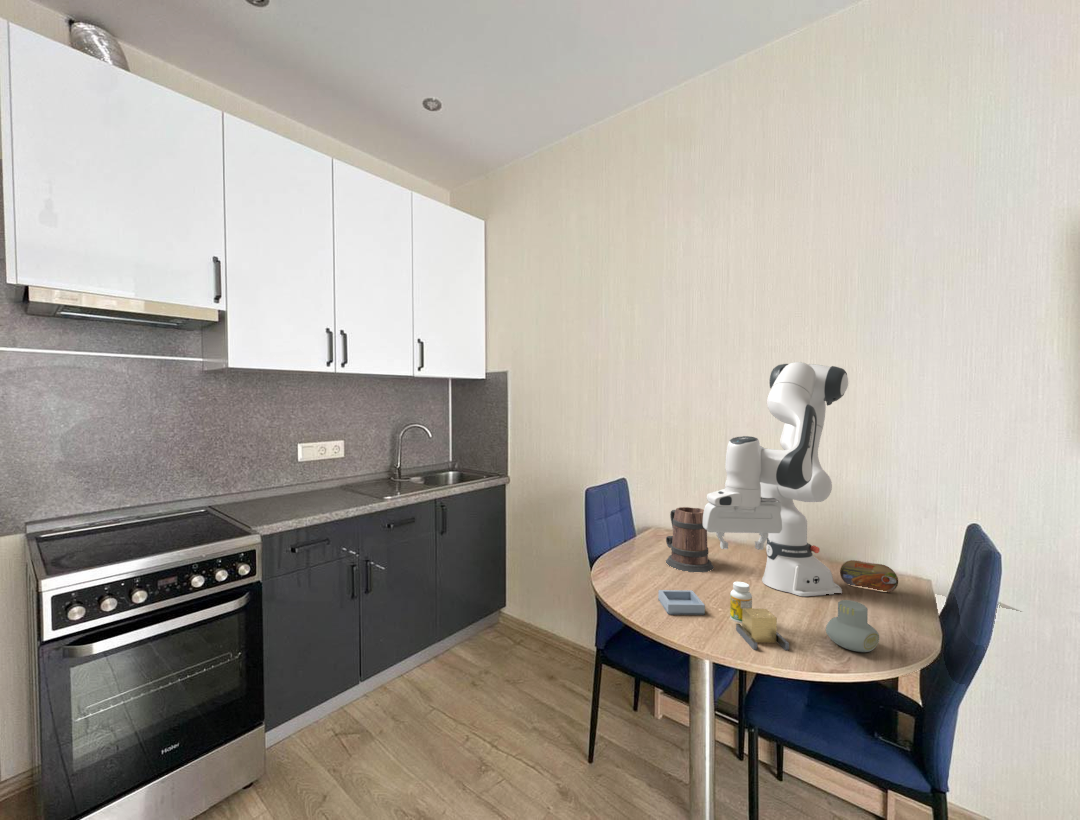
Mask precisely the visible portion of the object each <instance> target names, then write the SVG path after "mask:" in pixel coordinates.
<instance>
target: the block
mask: <svg viewBox="0 0 1080 820" xmlns="http://www.w3.org/2000/svg"><path fill="white" fill-rule="evenodd" d="M777 619H778V618H777V617H776V616H775V615H774V614H773V613H772V612H770V610H769V609H767V608H752V609H748V608H743V614H742V623H741V626H742V627H743V628H744V629H745V630H746V631H747V632H748V633H749V634H750V635H751V637H752V638H753V639H754V640H755V641H756V642H757V643H774V644H775V643H777V642H776V632H777V630H778V629H777V626H778V624H777Z"/></svg>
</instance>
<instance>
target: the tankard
mask: <svg viewBox="0 0 1080 820" xmlns="http://www.w3.org/2000/svg"><path fill="white" fill-rule="evenodd" d="M669 513H670V515H669V516H670V523H671V526H672V535H667V536H666V537H665V542H666V545H667V547H668V548H670V550H671V554H670V555H669V556H668V558H666V560H665V561H666V563H667V564H668V565H669V566H668V565H667V564H666V563H665V564H666V565H667V566H668V567H670V566H671V567H673V568H672V569H674V568H676V569H675V570H677V569H678V570H677V571H680V570H682V571H681V572H685V571H688V572H687V573H694V572H702V573H708V571H709V572H711V571H713V570H714V569H715V566H714V565H713V563H712V562H711V560H710V559H709V557H708V556H709V547H708V531H707V530H705V528H704V527H703V513H704V508H699V507H691V506H689V507H688V506H683V507H681V506H679V507H677V508H676V509H672V510H671V511H670V512H669ZM671 567H670V568H671ZM713 568H714V569H713ZM712 569H713V570H712ZM710 570H711V571H710Z"/></svg>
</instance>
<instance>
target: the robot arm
mask: <svg viewBox="0 0 1080 820" xmlns="http://www.w3.org/2000/svg"><path fill="white" fill-rule="evenodd" d="M769 388H770V389H769V392H768V396H767V398H766V399H767V400H766V406H767V409H768V412H769V413H770V414H771V415H772V416H773V417H775V419H776V420H778V421H780V422H781V423H784V424H783V427H782V431H781V435H780V439H779V444H780V446H781V448H782V449H776V448H766V447H765V448H764V447H763V446H761V444H760V440H759V438H758V437H754V436H748V435H747V436H746V435H743V436H736V437H733V438H731V439H729V441H728V443H727V447H726V451H725V464H724V465H725V469H724V470H725V473H726V480H725V483H724V488H722V489H720V490H719V489H718V490H715V491H712V492H709V493H707V494H706V500H707V503H706V504H705V506H704V508H703V510H704V513H703V527H704V528H705V530H707V533H715V534H716V537H717V539H718V541H720V543H719V547H720V549H721V550H728V549H729V542H727V541H726V540H725V539H724V538H723V537H725V533H726V534H729V533H731V534H732V533H733V534H758V535H759V536H760V537H759V538H758V540H757V541H754V548H755V549H756V550H764V548H765V547H764V546H765V545H764V544H765V543H766V556H767V557H766V563H765V569H764V574H763V576H762V578H761V582H762V583H763V584H764V585H766V586H767V587H769V588H772V589H774V590H777V591H781V592H784V593H785V592H786V593H790V594H793V595H796V596H799V597H814V596H816V597H817V596H826V594H829V595H835V594H834V593H841V594H843V591H842V590H843V588H842V587H841V586H840V585H839V584H838V583H836V582H834V576H833V572H832V571H831V569H830V568H829V567H828V566H827V565H826V564H824V563H823V562H822V561H820V559H818V558H817V557H815V556H814V555H813V553H815V554H819V552H821V550H820V547H818V546H816V545H811V544H810V543H808V519H807V518H806V516H805V514H804V513H802V512H801V511H800V510H799V509H798V508H797V506H796V504H795V503H794V501H798V502H803V503H822V502H825V501H826V500H827V499H828V498H829V497H830V495H831V493H832V489H833V482H832V479H831V477H830V476H829V473H827V472H826V471H825V470H824V469H823V467H822V465H821V463H820V460H819V447H820V442H821V437H822V434H823V430H824V426H825V425H824V424H825V419H826V412H827V411H826V408H827V407H826V406H831V405H832V404H833V403H834V402H837V401H839V400H840V399H841V398H842V397H843V396H844V395H845V393H846V391H847V389H848V388H849V377H848V373H847V371H846V370H845V369H844V368H841V367H839V366H834V365H832V366H828V365H822V364H814V363H805V362H802V361H794V362H790V363H781V364H778V365H776V366H775V367H774V368H772V370H771V372H770V375H769Z"/></svg>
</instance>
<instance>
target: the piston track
mask: <svg viewBox="0 0 1080 820" xmlns="http://www.w3.org/2000/svg"><path fill="white" fill-rule="evenodd" d="M735 625H736V626H735V627H736V628H735V631H736V632H737V633H738V634H739V635H740V637H741V638H742V639H743V640H744V641H745V642H746V643H747V644H748V645H749V647H750V648H751V649H752V650H753V651H758V642H756V641H755V640H754V639H753V638H752V637H751V635H750V634H749V633H748V632H747V631H746V630H745V629H744V628H743V627H742V624H741V623H736V624H735ZM776 643H777V644H778V645H779V646H780V647H781V648H782V649H783V650H784V651H787V652H788V651H789V649H790V643H789V641H787V640H786V639H785V638H784V637H783V636H782V635H781V634H779V632H778V631H776Z"/></svg>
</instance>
